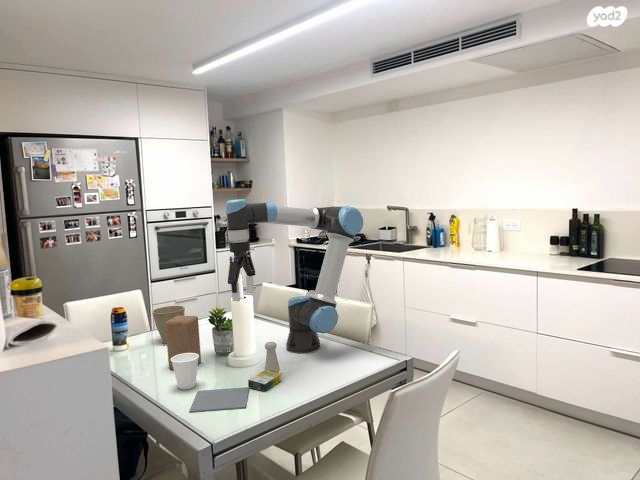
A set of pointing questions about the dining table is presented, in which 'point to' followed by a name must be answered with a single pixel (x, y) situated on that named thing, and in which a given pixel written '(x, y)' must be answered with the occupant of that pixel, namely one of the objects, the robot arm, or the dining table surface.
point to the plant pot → (166, 318)
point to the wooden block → (182, 337)
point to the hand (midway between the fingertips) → (243, 296)
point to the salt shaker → (271, 358)
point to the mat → (220, 399)
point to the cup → (185, 369)
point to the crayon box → (264, 380)
